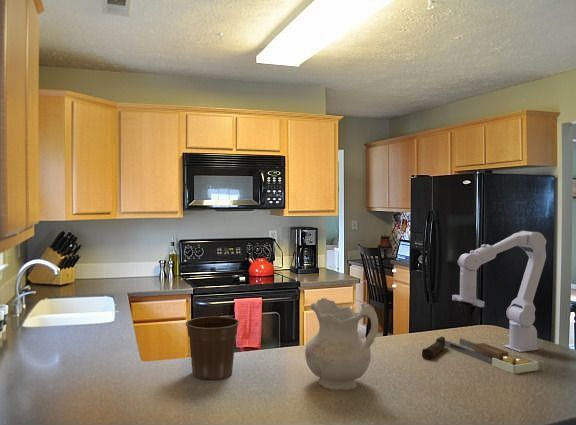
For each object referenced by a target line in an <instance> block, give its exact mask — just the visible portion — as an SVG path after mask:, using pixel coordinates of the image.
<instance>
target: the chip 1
mask: <svg viewBox="0 0 576 425" xmlns="http://www.w3.org/2000/svg"><path fill="white" fill-rule="evenodd" d="M515 358H516V356H514V355H510V354H509V355H503V356H502V361H504V362H507V363H509V364H512V365H515Z"/></svg>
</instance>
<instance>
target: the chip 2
mask: <svg viewBox="0 0 576 425" xmlns="http://www.w3.org/2000/svg"><path fill="white" fill-rule="evenodd" d="M526 358H527V357H526ZM526 358H522V357H516V356H515V365H519V364H526V363H528V359H526Z"/></svg>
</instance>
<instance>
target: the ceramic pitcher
mask: <svg viewBox="0 0 576 425" xmlns="http://www.w3.org/2000/svg"><path fill="white" fill-rule="evenodd" d="M310 309H311V310H312V312H314V313H315V315H316V318H317V320H318V324H319V327H318V328H319V330H318V332H317V333H316V335H314V336H313V337H312V338H311V339H309V340H308V341H307V343H306V345H305V352H304V354H305V361H306V364H307V366H308V369H310V371H311V372H312V374H314V376H316V377H318V378H319V379H318V384H319V386H320V387H321V388H325V389H327V390H329V391H345V390H346V391H348V390H354V389H355V388H356V387H358V386H359V384H358V382H357V381H356V380H358V379H360V378H362V376H363V375H364V374H365V373H366V371H367V370H368V368H369V366H370V364H371V358H372V357H371V345H373V343H374V342H375V339H376V337H377V335H378V332H379V318H378V315H377V312H376V311H375V307H374V306H373V303H372V304H371V303H363V304H361V309H360V311H359V312H356V311H354V310H353V309H352V308H351V306H345V305H344V306H341V305H340V306H338V305H337V304H336V301H334V300H331V299H328V298H327V297H326V298H325V297H324V298H321V299H318V300H317V301H316V302H315V303H314V302H313V303H311V305H310ZM363 318H368V319H369V320H370V329H369V332H368V334H367V336H366V338H365V340H364V339H363V338H362V337H361V336H360V335H359V333H358V332H359V331H358V328H359V321H360V320H361V319H363Z"/></svg>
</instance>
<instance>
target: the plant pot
mask: <svg viewBox="0 0 576 425" xmlns="http://www.w3.org/2000/svg"><path fill="white" fill-rule="evenodd" d="M239 324H240V320H239V319H237V318H233V317H230V316H201V317H196V318H192V319H189V320H187V321H186V322H185V326H186V328H187V335H188V338H189V346H190V347H189V348H190V359H191V360H190V362H191V370H192V372H191V374H192V376H193V377H195V379H196V378H197V379H199V380H205V379H209V380H211V381H215V380H222V379H225V378H226V379H227V378H228V377H229V376H231V375H232V374H233V370H234V369H233V368H234V356H235V346H236V336H237V334H238V327H239Z"/></svg>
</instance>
